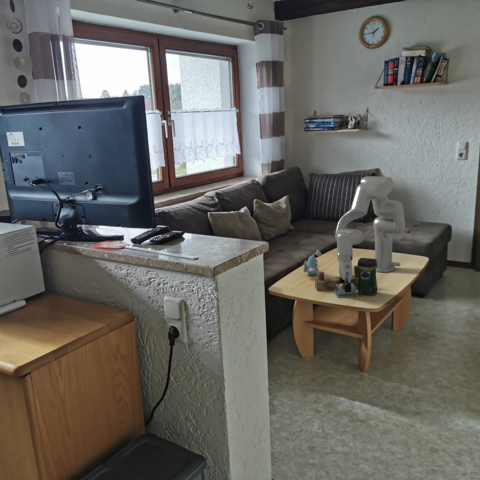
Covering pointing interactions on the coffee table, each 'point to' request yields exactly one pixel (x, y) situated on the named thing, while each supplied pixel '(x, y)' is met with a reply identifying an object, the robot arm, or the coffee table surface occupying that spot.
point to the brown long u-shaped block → (333, 281)
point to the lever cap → (341, 289)
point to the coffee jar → (367, 276)
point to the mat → (345, 295)
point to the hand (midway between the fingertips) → (345, 288)
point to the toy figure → (311, 264)
